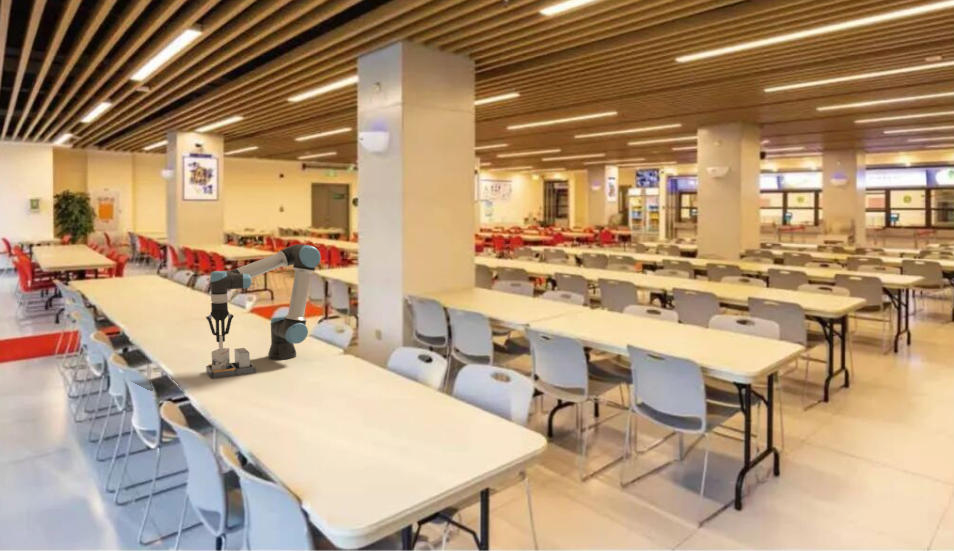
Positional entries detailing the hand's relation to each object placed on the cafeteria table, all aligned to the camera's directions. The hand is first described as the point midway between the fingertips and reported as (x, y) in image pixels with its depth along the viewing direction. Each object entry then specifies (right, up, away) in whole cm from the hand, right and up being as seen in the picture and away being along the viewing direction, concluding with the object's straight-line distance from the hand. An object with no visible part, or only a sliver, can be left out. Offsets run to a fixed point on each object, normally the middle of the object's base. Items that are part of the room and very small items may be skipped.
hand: (220, 348), depth 303 cm
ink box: (0, -13, +1) cm, 13 cm away
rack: (+4, -13, +4) cm, 14 cm away
